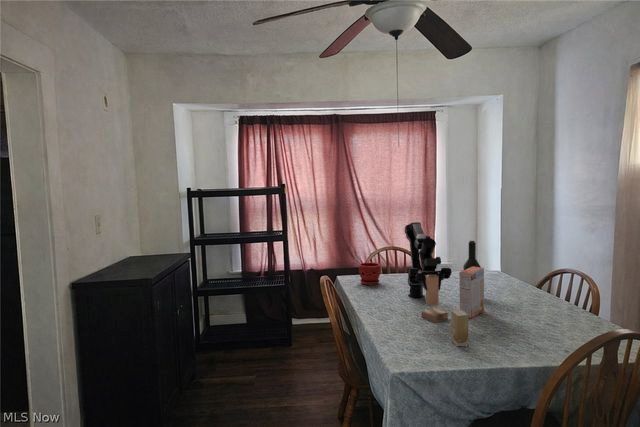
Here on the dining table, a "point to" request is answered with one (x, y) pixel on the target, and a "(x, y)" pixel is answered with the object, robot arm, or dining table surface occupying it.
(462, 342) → the skincare box
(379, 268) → the plant pot
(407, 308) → the dining table surface
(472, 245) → the wine bottle
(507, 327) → the dining table surface
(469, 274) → the cracker box
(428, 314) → the plinth
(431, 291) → the tan lidded canister
